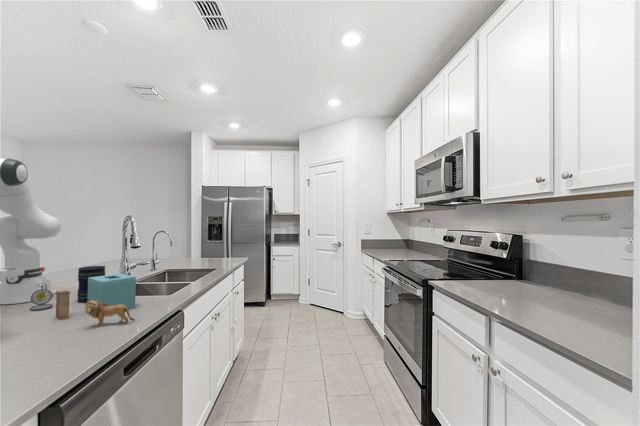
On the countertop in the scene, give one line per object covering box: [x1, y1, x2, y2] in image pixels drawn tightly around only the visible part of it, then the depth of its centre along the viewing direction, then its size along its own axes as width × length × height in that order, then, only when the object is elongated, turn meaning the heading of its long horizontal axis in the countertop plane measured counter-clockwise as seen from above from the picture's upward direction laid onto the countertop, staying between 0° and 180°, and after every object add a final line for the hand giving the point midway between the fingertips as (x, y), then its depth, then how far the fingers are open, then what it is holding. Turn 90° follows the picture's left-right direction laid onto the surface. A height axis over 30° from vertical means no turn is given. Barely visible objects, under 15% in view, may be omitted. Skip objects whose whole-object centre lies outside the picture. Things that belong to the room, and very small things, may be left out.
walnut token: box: [55, 289, 71, 321], centre depth 106 cm, size 5×2×10 cm, turn 57°
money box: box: [87, 272, 137, 310], centre depth 118 cm, size 14×12×13 cm
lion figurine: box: [84, 301, 136, 328], centre depth 100 cm, size 15×5×9 cm, turn 115°
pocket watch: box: [30, 283, 54, 311], centre depth 118 cm, size 8×8×10 cm
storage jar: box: [76, 265, 106, 304], centre depth 130 cm, size 10×10×15 cm
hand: (19, 271), depth 97 cm, fingers open, 8 cm apart
